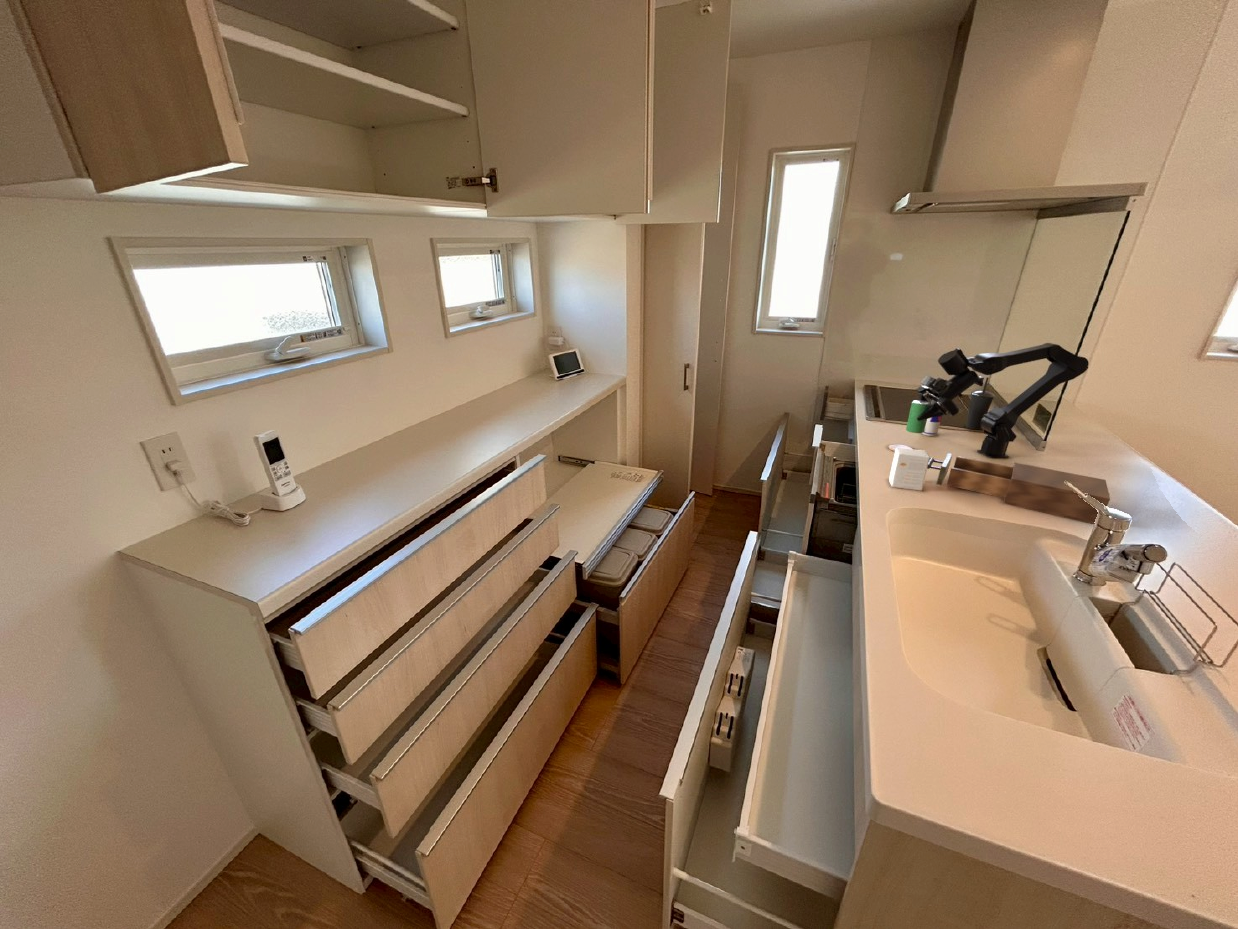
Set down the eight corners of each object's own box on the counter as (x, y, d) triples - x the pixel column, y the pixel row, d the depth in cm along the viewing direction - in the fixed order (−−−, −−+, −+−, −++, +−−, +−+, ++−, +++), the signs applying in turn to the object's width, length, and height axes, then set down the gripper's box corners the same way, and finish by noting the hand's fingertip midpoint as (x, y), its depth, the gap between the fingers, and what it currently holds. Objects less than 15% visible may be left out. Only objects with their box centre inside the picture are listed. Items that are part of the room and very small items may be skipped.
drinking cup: (977, 432, 190) (992, 380, 182) (957, 426, 196) (971, 376, 189) (989, 429, 193) (1004, 378, 186) (968, 423, 200) (982, 374, 192)
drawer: (920, 480, 147) (924, 462, 145) (928, 467, 156) (932, 450, 154) (1014, 502, 134) (1021, 482, 132) (1017, 485, 143) (1023, 467, 141)
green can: (927, 431, 167) (934, 402, 163) (919, 434, 164) (926, 405, 160) (910, 427, 171) (916, 399, 167) (902, 430, 168) (909, 401, 164)
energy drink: (939, 436, 185) (947, 405, 181) (923, 435, 186) (931, 404, 182) (933, 432, 190) (941, 401, 185) (918, 431, 191) (925, 401, 186)
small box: (918, 483, 147) (926, 450, 143) (922, 491, 142) (930, 457, 138) (888, 479, 149) (895, 447, 145) (891, 487, 145) (898, 453, 141)
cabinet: (1003, 503, 135) (1011, 478, 132) (1007, 485, 145) (1014, 462, 142) (1099, 525, 124) (1110, 498, 121) (1095, 504, 134) (1105, 479, 131)
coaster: (904, 445, 177) (904, 444, 177) (917, 452, 170) (917, 451, 170) (883, 445, 177) (884, 444, 176) (896, 453, 170) (896, 452, 169)
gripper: (928, 361, 168) (888, 393, 173) (957, 373, 151) (911, 408, 156) (947, 385, 170) (906, 415, 175) (978, 399, 153) (932, 432, 158)
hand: (913, 417), depth 166 cm, fingers closed on green can, 5 cm apart
